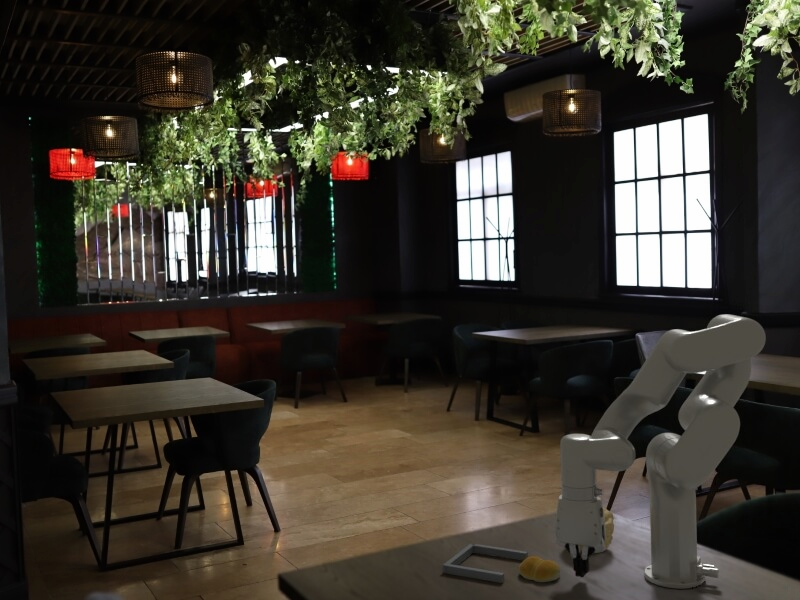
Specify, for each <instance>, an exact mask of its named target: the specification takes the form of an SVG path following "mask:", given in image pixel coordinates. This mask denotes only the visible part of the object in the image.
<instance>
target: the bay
mask: <svg viewBox="0 0 800 600" xmlns="http://www.w3.org/2000/svg"><path fill="white" fill-rule="evenodd" d="M473 552H475V553H473ZM472 553H473V554H478V553H480V554H479V555H485V554H487V555H486V556H491V555H494V557H497V556H501V557H500V558H504V557H505V558H506V559H510V558H511V559H512V560H516V559H517V560H518V561H522V562H523V561H524V560H525V559H526V558H528V557H529V556H528V551H524V550H517V549H511V548H505V547H498V546H493V545H485V544H479V543H478V544H477V543H469V544H467V545H466V547H464V548H462V549H461V550H460V551H459V552H458V553H456V554H455V555H454V556H453V557H451V558H450V559H448V560H447V561H445V563H443V564H442V574H447V575H454V576H459V577H464V578H471V579H477V580H483V581H487V582H488V581H489V582H494V583H499V584H503V583H504V582H505V573H504V572H499V571H493V570H487V569H481V568H475V567H469V566H465V565H464V566H463V565H460V564H462V563H463V562H464V561H466V560H467V559H466V558H467V557H468V558H469V557H470V556H472V555H473V554H472ZM471 554H472V555H471ZM505 558H504V559H505ZM462 561H463V562H462ZM461 562H462V563H461Z"/></svg>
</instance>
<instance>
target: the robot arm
mask: <svg viewBox="0 0 800 600" xmlns="http://www.w3.org/2000/svg"><path fill="white" fill-rule="evenodd" d="M766 337H767V336H766V331H765V330H764V328H763V326H762V325H761V324H760V323H759V322H758V321H756V320H755V319H752V318H749V317H746V316H745V317H744V316H740V315H735V314H730V313H729V314H726V313H725V314H719V315H716V316H715V317H713V318H712V319H711V320H710V321H709V323H708V324H707V326H706V328H704V329H700V330H695V331H689V330H685V329H679V328H677V329H670V330H667V331H666V332H665V333H663V334H662V335H661V336H660V338H659V339H658V341H657V342H656V344H655V345H654V346H653V349H651V352H650V353H649V354H648V357H646V359H645V361H644V363H643V364H642V366H641V367H640V369H639V371H637V373H636V375H635V377H634V379H633V381H631V383H630V384H629V385H628V386H627V388H625V389H624V390H623V391H622V393H620V395H619V396H617V398H616V399H614V401H613V402H612V403H611V404H610V406H609V407H608V408H607V409H606V410H605V412H604V413H603V415H602V417H601V418H600V419H599V421H598V423H597V424H596V426H595V428H594V429H593V432H592V433H591V435H589V434H585V433H570V434H566V435H564V436H563V437H561V439H560V442H559V443H560V445H559V449H560V478H561V479H560V481H561V482H560V483H561V486H560V487H561V494H560V495H559V496H558V501H557V507H556V514H555V538H556V542H555V544H556V546H558V547H561V548H565V550H566V551H567V552H568V553H569V554H570V557H571V558H572V560H573V561H572V565H573V566H572V568H573V571H574V572H575V575H574V576H575V577H580V578H584V577H586V575H587V574H588V573H589V571H590V565H589V564H590V563H589V562H590V561H589V559H590V557H591V556H592V555H593V554H598V553H597V552H599V553H603V552H604V551H605V550H607V549H606V547H605V544H604V540H605V539H606V527H605V518H604V511H603V507H604V506H603V502H602V498H601V497H599V496H603V495H604V489H603V488H599V485H598V484H597V483H598V482H597V479H598V478H597V471H598V470H599V471H600V470H601V471H609V472H622V471H626V470H627V469H630V468H631V467H632V466H633V464H634V463H635V460H636V456H637V455H636V449H635V447H634V445H633V444H632V442H631V441H630V440H628V438H629V436H630V435H631V434H632V432H633V431H634V429H635V427H637V425H638V424H639V423H640V422H641V421H642V420H643V419H644V418H646V417H647V416H648V415H652V414H653V413H655V412H658V411H660V410H661V409H663V408H665V407H666V406H667V405H668V403H669V402H670V401H671V399H672V397H673V395H674V394H675V393H676V390H677V389H678V388H679V386H680V384H681V383H682V381H683V379H684V377H686V375H687V374H698V373H703V372H705V373H704V374H703V376H702V378H701V379H700V380H699V382H698V383H697V384H696V386H695V387H694V389H693V390H692V391H691V393H690V394H689V396H688V397H687V398H686V400H684V402H683V404H682V405H681V407H680V409H679V411H678V414H677V415H678V416H677V417H678V421H679V424H680V426H681V427H682V429H683V430H684V432H683V433H682V435H680V434H677V433H675V432H674V433H673V432H662V433H660V434H657V435H656V436H654V437H653V438H652V439H651V441H650V442H649V443H648V445H647V448H646V453H645V464H646V465H645V466H646V471H647V472H646V473H647V476H648V478H647V479H648V486H649V487H648V488H649V515H650V516H649V519H650V520H649V523H650V526H649V527H650V556H651V557H650V558H651V559H650V560H651V564H650V565H647V566H646V567H645V568H644V570H643V571H644V573H643V575H644V578H645V579H646V580H647V581H648V582H649V583H652V584H654V585H657V586H661V587H664V588H670V589H677V590H678V589H681V590H682V589H683V590H685V589H692V587H693V588H696V586H697V587H699V586H698V585H700V584H701V585H703V584H704V583H705V582H706V577H709V578H712V579H719V577H720V576H719V575H720V571H719V568H716V567H715V564H707V563H704V562H703V561H702V562H701V558H702V557H701V556H700V555H698V546H697V545H698V540H697V537H698V536H697V497H696V488H699V487H700V486H702V485H703V484H704V483H705V482H706V481H707V480H708V479H709V478H710V476H711V475H712V474H713V472H715V470H716V468H717V467H718V466H719V464H720V463H721V462H722V461H723V459H724V458H725V456H726V455H727V453H728V452H729V451H730V449H731V448H732V447H733V445H734V443H735V442H736V440H737V438H738V437H739V433H740V427H741V420H740V416H739V414H738V412H737V410H736V409H735V408H734V407H735V405H737V404H736V403H738V401H739V400H740V397H741V396H742V394H743V393H744V391H745V390H746V388H747V387H748V385H749V383H750V382H749V381H750V378H751V374H752V359H753V358H754V357H756V356H758V354H760V353H761V351H762V350H763V349H764V348H765V347H764V346H765V344H766ZM579 545H581V546H583V548H582V551H580V548H579ZM595 552H596V553H595ZM704 581H705V582H704ZM703 582H704V583H703ZM702 583H703V584H702ZM701 585H700V586H701Z"/></svg>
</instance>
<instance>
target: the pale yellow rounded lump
mask: <svg viewBox="0 0 800 600" xmlns="http://www.w3.org/2000/svg"><path fill="white" fill-rule="evenodd" d="M603 511H604V518H605V527H606V539H605V540H604V544H605V547H606V549H605V550H607V549H608V548H609V547H610V545H611V544H612V541H613V540H614V537H613V533H614V531H615V524H614V519H615V518H614V514H613V512H612V511H610V510H608V509H607V508H605V507H604V506H603ZM579 548H580V552H582V548H583V546H581V545H579ZM598 553H600V552H597V553H596V552H595V553H594V554H598Z"/></svg>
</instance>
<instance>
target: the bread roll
mask: <svg viewBox="0 0 800 600" xmlns="http://www.w3.org/2000/svg"><path fill="white" fill-rule="evenodd" d="M518 574H520V575H521V576H522V578H524V579H527V580H531V581H534V582H536V583H550V582H552V581H557V580H558V579H559V577H560V576H561V568H560V565H559V564H558V562H555V561H553V560H550V559H545V560H544V559H542V558H541V557H539V556H536V555H535V556H533V555H531V556H528V558H526V559H525V560H524V561H523V560H522V562H520V563H519V566H518Z"/></svg>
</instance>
